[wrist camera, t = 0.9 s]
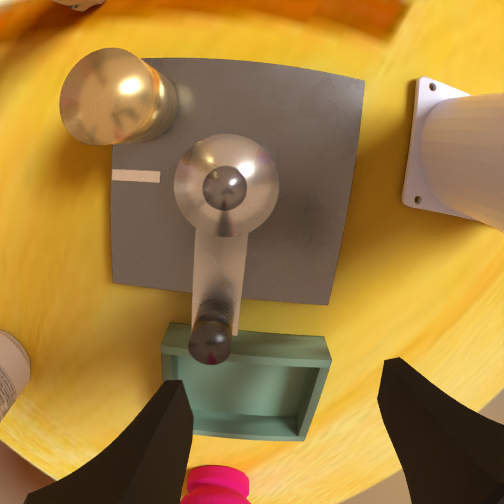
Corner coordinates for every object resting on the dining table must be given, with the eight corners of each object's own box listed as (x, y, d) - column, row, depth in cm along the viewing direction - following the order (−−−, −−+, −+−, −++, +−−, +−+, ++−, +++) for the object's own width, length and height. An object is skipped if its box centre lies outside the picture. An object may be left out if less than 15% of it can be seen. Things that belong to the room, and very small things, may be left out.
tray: (324, 336, 21) (332, 360, 18) (300, 417, 24) (304, 441, 21) (169, 322, 20) (160, 345, 18) (173, 406, 23) (167, 430, 21)
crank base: (359, 83, 16) (365, 80, 14) (324, 297, 20) (328, 306, 19) (128, 63, 15) (121, 59, 14) (118, 276, 19) (112, 283, 18)
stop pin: (182, 69, 14) (155, 44, 10) (174, 143, 16) (143, 146, 11) (112, 71, 14) (66, 53, 10) (104, 142, 16) (56, 146, 11)
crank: (183, 130, 15) (161, 128, 11) (282, 140, 15) (293, 139, 12) (174, 318, 19) (158, 361, 15) (258, 327, 19) (259, 373, 15)
